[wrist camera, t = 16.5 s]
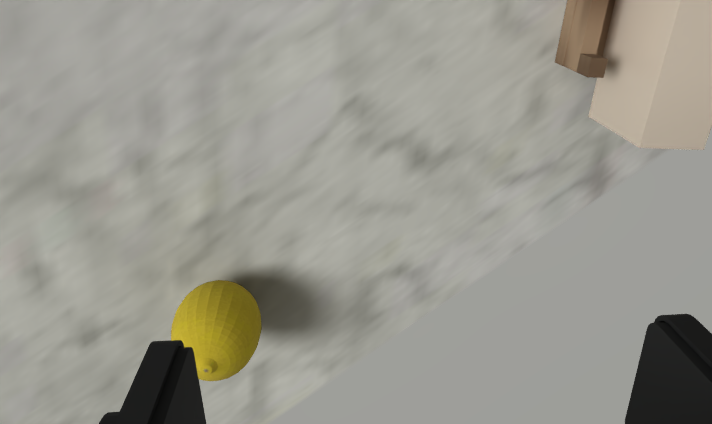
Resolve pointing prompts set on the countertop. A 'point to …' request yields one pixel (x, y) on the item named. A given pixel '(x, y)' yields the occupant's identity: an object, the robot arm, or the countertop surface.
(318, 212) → the countertop surface
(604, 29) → the rack
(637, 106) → the clay bar
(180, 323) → the lemon
